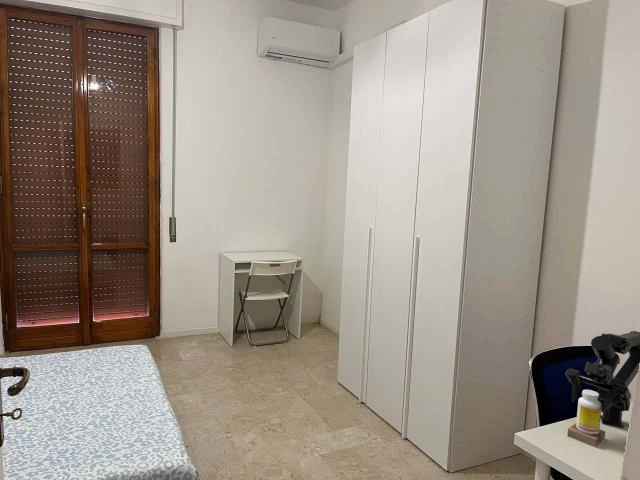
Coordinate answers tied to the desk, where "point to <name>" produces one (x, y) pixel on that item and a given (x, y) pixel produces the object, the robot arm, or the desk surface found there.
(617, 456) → the desk surface
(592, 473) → the desk surface
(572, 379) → the robot arm
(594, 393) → the supplement bottle
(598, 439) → the walnut plinth
